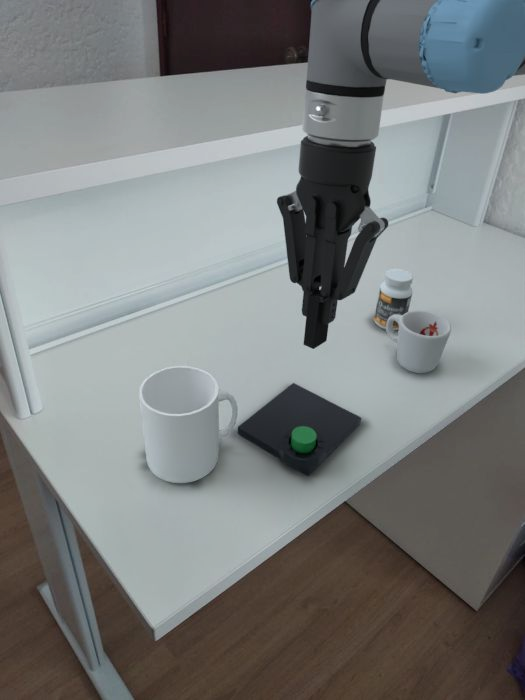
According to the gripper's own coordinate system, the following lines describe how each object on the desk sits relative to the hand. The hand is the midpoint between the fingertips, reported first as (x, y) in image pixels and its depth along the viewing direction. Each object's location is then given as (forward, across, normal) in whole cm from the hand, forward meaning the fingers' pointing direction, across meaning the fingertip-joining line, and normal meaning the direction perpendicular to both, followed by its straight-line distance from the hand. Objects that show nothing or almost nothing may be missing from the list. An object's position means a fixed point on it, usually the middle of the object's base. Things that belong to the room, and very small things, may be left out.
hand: (315, 342), depth 70 cm
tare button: (+14, +1, -2) cm, 14 cm away
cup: (+15, +1, +28) cm, 32 cm away
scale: (+16, -3, +3) cm, 17 cm away
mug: (+17, -10, -11) cm, 23 cm away
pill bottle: (+14, -7, +36) cm, 40 cm away
